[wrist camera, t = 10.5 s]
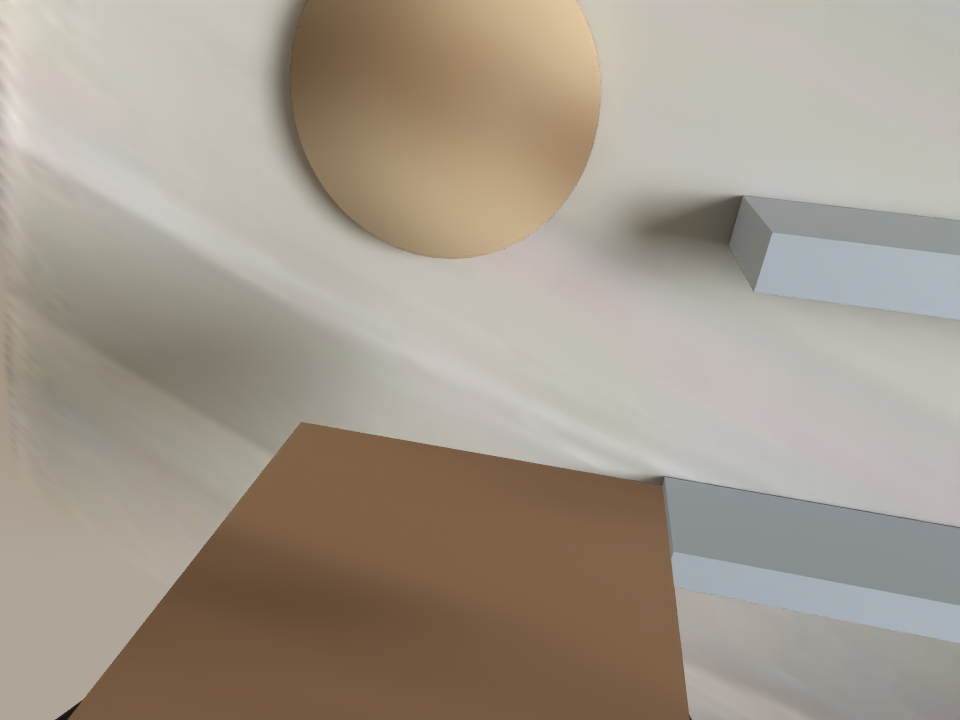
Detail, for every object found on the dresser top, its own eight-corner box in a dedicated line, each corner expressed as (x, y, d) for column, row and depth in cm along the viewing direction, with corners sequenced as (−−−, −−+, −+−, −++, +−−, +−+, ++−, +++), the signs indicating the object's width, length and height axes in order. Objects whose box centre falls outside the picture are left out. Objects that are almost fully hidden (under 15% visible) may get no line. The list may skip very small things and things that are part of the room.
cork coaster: (575, 265, 16) (573, 276, 15) (313, 230, 17) (299, 239, 16) (628, -68, 12) (628, -74, 12) (295, -91, 13) (278, -97, 13)
